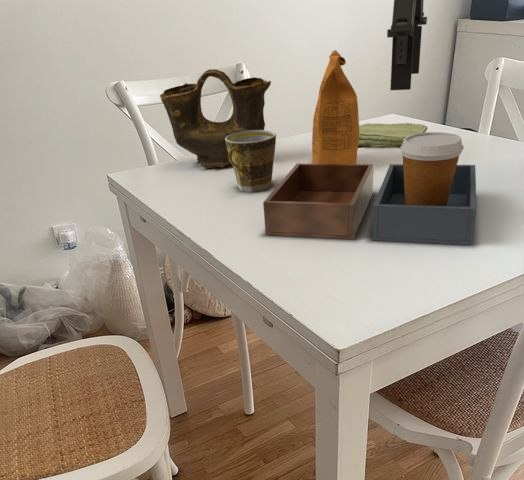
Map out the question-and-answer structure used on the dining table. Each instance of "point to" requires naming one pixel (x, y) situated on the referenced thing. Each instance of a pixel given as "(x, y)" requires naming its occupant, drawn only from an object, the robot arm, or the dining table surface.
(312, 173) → the wood bin
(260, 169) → the ceramic cup
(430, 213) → the grey bin
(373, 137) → the washcloth
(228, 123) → the pottery vessel
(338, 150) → the coffee package
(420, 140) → the disposable coffee cup
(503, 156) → the dining table surface
